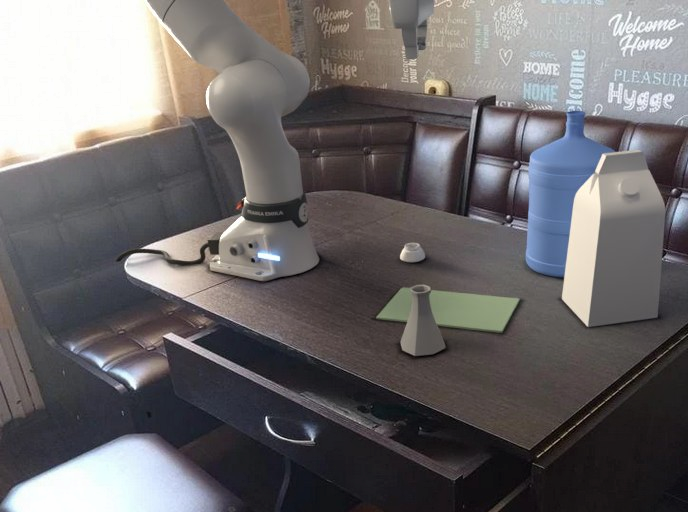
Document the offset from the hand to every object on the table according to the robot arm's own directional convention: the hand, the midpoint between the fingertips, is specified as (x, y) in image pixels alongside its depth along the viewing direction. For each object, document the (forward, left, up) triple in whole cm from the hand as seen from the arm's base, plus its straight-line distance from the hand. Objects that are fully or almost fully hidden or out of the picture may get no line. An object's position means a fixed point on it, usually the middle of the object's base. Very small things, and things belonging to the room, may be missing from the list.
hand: (416, 54), depth 119 cm
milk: (+32, +2, -41) cm, 52 cm away
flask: (+6, -19, -41) cm, 45 cm away
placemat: (+6, -5, -41) cm, 41 cm away
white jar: (-8, +16, -41) cm, 44 cm away
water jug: (+22, +20, -41) cm, 50 cm away
